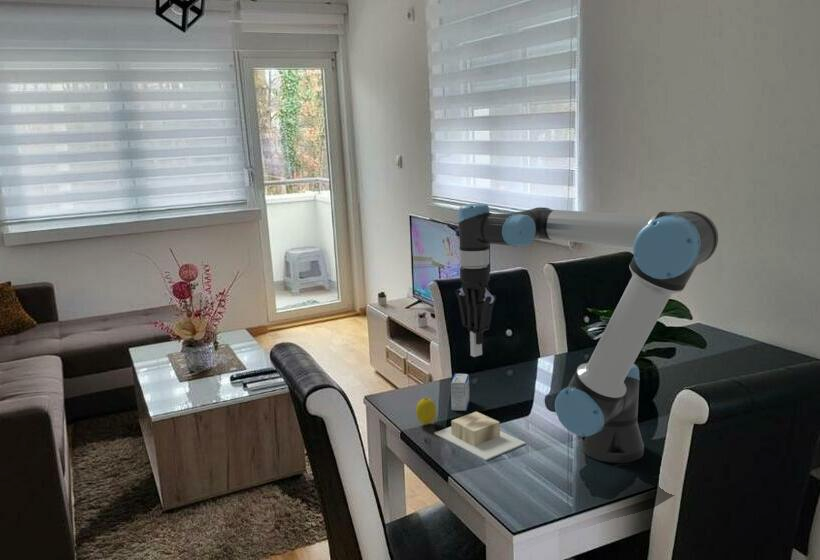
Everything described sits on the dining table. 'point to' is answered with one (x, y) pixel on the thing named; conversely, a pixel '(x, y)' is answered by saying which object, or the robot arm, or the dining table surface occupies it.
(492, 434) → the slab
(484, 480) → the dining table surface
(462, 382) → the medicine box
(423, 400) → the lemon
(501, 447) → the placemat
